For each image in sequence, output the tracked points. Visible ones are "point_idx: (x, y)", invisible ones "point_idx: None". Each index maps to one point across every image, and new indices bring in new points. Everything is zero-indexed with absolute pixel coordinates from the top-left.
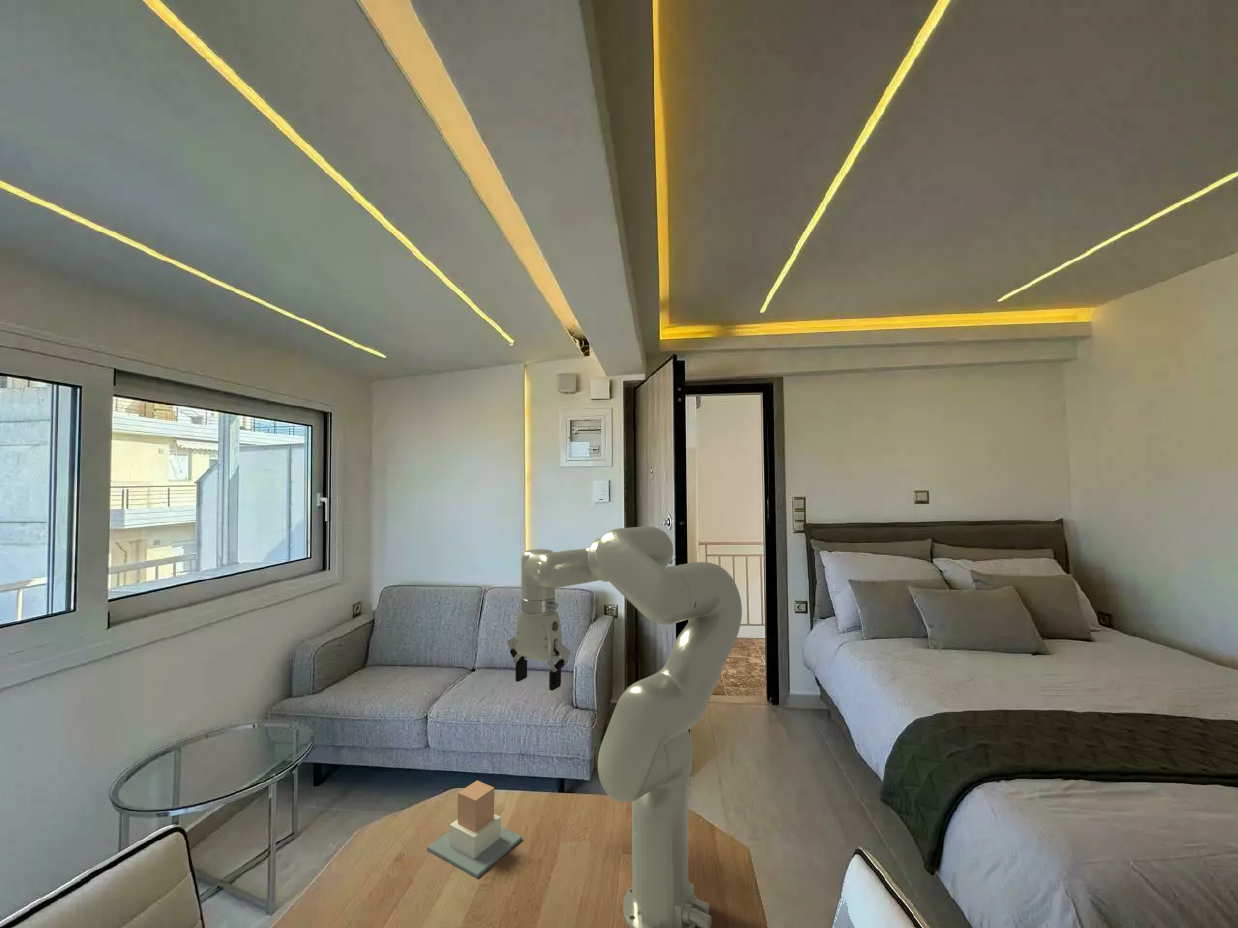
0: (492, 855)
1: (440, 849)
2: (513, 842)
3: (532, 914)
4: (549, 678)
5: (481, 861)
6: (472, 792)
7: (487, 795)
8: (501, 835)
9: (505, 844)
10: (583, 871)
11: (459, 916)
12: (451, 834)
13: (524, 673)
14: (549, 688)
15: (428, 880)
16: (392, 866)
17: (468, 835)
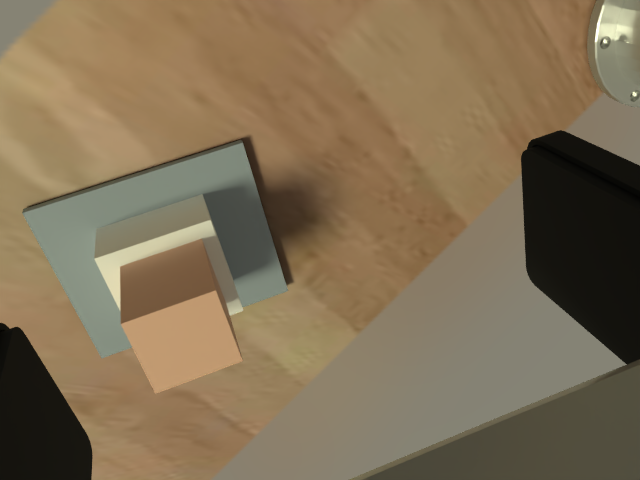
0: (254, 239)
1: None
2: (248, 174)
3: (451, 231)
4: (608, 345)
5: (255, 269)
6: (190, 357)
7: (224, 311)
8: (196, 188)
9: (240, 195)
10: (457, 74)
11: (348, 339)
12: None
13: (32, 409)
14: (538, 284)
15: None
16: (105, 419)
17: None
